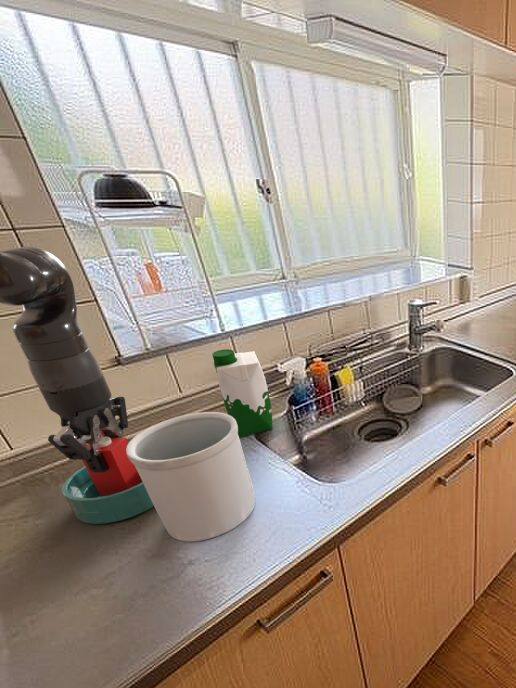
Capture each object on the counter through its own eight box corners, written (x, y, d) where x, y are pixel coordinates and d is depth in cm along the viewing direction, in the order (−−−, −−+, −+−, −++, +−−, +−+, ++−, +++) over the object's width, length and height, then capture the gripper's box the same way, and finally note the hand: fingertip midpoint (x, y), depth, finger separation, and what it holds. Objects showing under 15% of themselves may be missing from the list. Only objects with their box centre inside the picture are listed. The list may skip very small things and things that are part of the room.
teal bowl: (54, 528, 72) (38, 502, 69) (113, 474, 85) (101, 450, 82) (146, 524, 74) (133, 498, 71) (190, 472, 87) (181, 448, 84)
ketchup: (102, 500, 77) (75, 447, 71) (118, 485, 80) (93, 434, 75) (133, 499, 77) (108, 446, 72) (147, 484, 81) (124, 433, 75)
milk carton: (231, 422, 103) (209, 347, 94) (272, 413, 108) (255, 341, 98) (234, 440, 97) (210, 362, 87) (278, 430, 101) (260, 354, 92)
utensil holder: (151, 513, 76) (115, 433, 68) (241, 475, 87) (219, 402, 78) (176, 560, 68) (138, 475, 60) (272, 512, 78) (250, 434, 70)
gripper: (78, 359, 73) (115, 440, 81) (2, 400, 61) (54, 490, 69) (126, 359, 74) (158, 439, 82) (61, 399, 62) (105, 488, 70)
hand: (110, 462), depth 75 cm, fingers closed on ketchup, 4 cm apart
